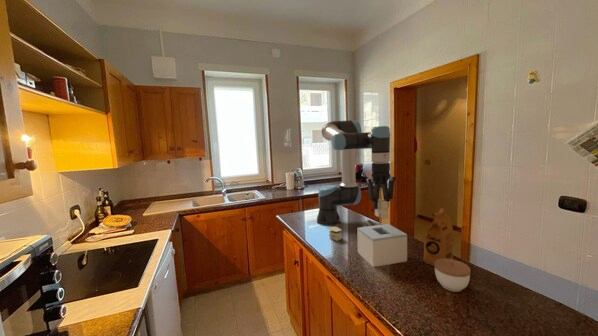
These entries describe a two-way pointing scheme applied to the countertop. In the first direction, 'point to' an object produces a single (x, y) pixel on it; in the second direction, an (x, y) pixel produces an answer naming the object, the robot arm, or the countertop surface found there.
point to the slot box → (382, 244)
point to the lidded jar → (452, 274)
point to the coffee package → (439, 239)
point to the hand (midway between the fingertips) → (381, 215)
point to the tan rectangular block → (383, 209)
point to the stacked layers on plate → (335, 233)
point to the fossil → (369, 223)
